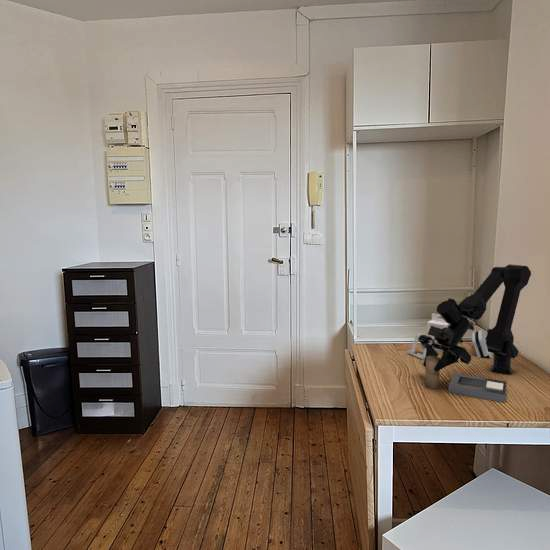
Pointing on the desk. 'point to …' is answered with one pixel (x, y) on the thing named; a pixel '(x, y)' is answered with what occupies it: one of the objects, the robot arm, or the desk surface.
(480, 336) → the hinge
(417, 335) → the portable electronic device stand
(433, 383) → the walnut peg
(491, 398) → the hole plate
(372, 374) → the desk surface
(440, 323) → the ink cartridge box
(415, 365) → the desk surface
